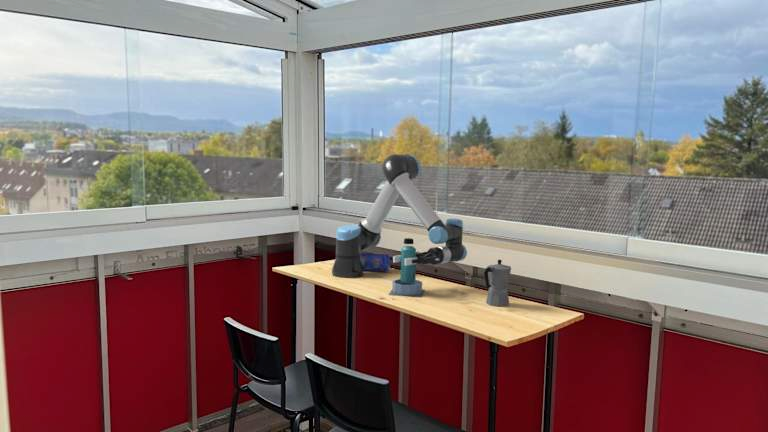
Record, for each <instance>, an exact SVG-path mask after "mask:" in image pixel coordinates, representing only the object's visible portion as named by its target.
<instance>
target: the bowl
mask: <svg viewBox="0 0 768 432" xmlns="http://www.w3.org/2000/svg"><path fill="white" fill-rule="evenodd" d="M391 285H392V286H391V287H392V288H391V290H393V293H394V294H397V295H403V296H402V297H408V296H415V295H420V294H421V293H422V289H423V281H421V280H419V279H416V280H415V282H414V283H403V282H401V279H400V278H398V279H397V278H396V279H393V280H392V284H391Z"/></svg>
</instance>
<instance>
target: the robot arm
mask: <svg viewBox="0 0 768 432" xmlns="http://www.w3.org/2000/svg"><path fill="white" fill-rule="evenodd" d="M381 169H382V173H383V174H382V175H384V178H385V179H386V181H385V184H383V187H382V188H381V190H380V192H379V194H378V195H377V198H376V199H375V201H374V203H373V205H372V207H371V208H370V209H369V212H368V213H367V214H366V215H367V216H366V217H365V218H361V219H360V221H359V223H358V225H356V224H346V225H342V226H339V227H337V229H336V233H335V260H334V263H333V264H332V268H331V275H332V274H333V275H332V276H334V275H335V276H334V277H337V276H339V277H340V278H358V277H362V276H364V270H363V268H362V264H361V261H360V253H361V252H362V251H364V250H371V249H373V248H375V247H377V245H379V244H380V241H381V239H382V235H381V234H382V231H383V230H382V225H383V224H384V222H385V220H386V219H387V217H388V215H389V214H390V211H391V210H392V209H393V206H394V204H395V203H396V201H397V200H398V198H399V196H401V197H402V198H403V200H404V201H405V203H406V204H407V205H408V206H409V208H410V210H412V212H413V213H414V215H415V216H416V217H417V218H418V220H419V221H420V223H422V225H423V227H424V228H425V229H426V231H427V232H428V240H429V241H430V242H431V243H433V244H435V245H441V244H445V245H442V246H437V247H430V248H429V249H427V251H423V252H420V251H416V257H414V258H407V259H405V265H413V264H416V265H418V264H419V265H421V264H422V265H428V264H431V265H432V266H433V265H444V264H447V263H455V262H460V261H464V259H466V257H467V255H468V250H467V248H466V245H464V244H463V233H464V232H463V231H464V227H463V226H464V225H463V224H464V223H463V220H462V219H459V218H447V219H446V221H445V224H444V222H443V220H441V218H440V216H439V215H438V214H437V213H436V211H435V210H434V209H433V207H432V206H431V205H430V204H429V202H428V201H427V200H426V198H425V197H424V195H423V194H422V193H421V192H420V190H419V189H418V188H417V187H416V185H415V184H414V183H413V181H412V180H414V179H416V178H417V177H418V176H419V175H420V173H421V170H422V169H421V163H420V160H419V159H418V158H417V157H416V156H415V155H411V154H408V153H407V154H405V153H404V154H396V153H394V154H391V155H388V156H387V157H386V158H385V159H384V160H383V163H382V168H381ZM392 262H393V263H394V264H395V263H401V254H399V255H393V257H392ZM339 277H338V278H339Z"/></svg>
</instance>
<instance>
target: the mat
mask: <svg viewBox="0 0 768 432" xmlns="http://www.w3.org/2000/svg"><path fill="white" fill-rule="evenodd" d="M425 291H426V289H424V288H422V293H421V294H420V295H415V296H407V297H409V298H411V297H412V298H422V297H423V295H424V294H425ZM388 296H397V297H404V296H403V295H397V294H394V293H393V290H392V289H391V290H390V292H389V293H388Z"/></svg>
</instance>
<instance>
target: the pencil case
mask: <svg viewBox="0 0 768 432" xmlns="http://www.w3.org/2000/svg"><path fill="white" fill-rule="evenodd" d="M360 261H361V264H362V268H363V271H369V270H371V272H373V271H374V272H375V271H376V272H385V273H389V271H390V266H391V261H393V257H392V256H390V255H389V254H388V253H386V252H384V253H361V252H360Z"/></svg>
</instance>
